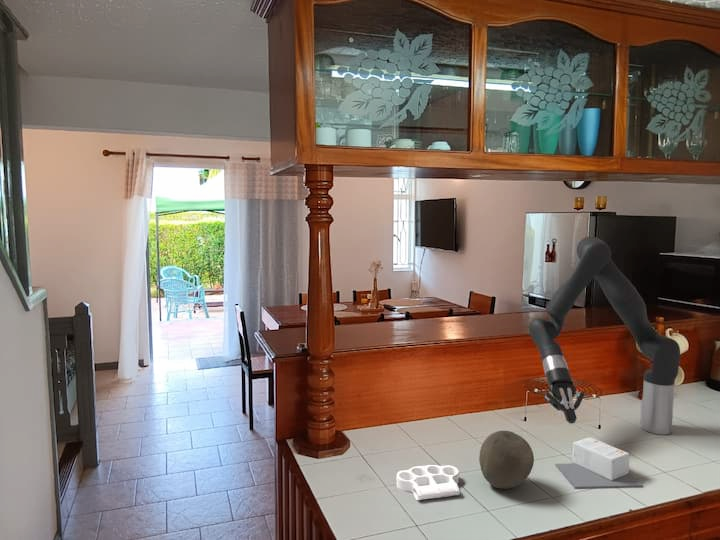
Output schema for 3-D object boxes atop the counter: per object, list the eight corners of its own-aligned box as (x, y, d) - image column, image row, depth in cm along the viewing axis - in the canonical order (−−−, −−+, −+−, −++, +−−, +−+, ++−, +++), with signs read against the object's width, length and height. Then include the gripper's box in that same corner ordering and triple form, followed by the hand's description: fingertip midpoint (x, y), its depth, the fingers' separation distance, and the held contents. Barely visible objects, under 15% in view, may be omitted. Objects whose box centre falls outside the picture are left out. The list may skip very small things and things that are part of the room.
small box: (571, 462, 153) (611, 481, 141) (572, 442, 152) (612, 459, 141) (589, 456, 157) (629, 474, 145) (590, 436, 156) (630, 452, 145)
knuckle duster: (406, 505, 132) (391, 477, 146) (470, 497, 136) (450, 470, 150) (406, 493, 132) (391, 466, 146) (471, 485, 135) (450, 459, 150)
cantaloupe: (504, 504, 131) (505, 449, 130) (468, 480, 144) (469, 429, 142) (543, 491, 138) (544, 438, 136) (506, 468, 150) (507, 419, 149)
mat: (555, 465, 152) (555, 463, 152) (617, 463, 152) (617, 462, 152) (574, 488, 139) (574, 486, 139) (642, 486, 139) (642, 485, 139)
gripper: (540, 366, 165) (555, 418, 154) (580, 366, 165) (598, 417, 154) (534, 377, 170) (547, 427, 160) (572, 376, 171) (588, 426, 160)
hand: (572, 422), depth 157 cm, fingers closed
